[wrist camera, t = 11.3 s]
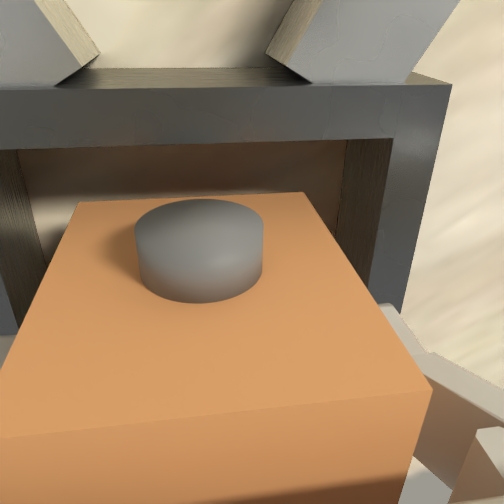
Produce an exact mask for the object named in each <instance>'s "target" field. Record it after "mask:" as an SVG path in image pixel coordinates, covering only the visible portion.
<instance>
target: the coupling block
mask: <svg viewBox="0 0 504 504" xmlns="http://www.w3.org/2000/svg"><path fill="white" fill-rule="evenodd" d="M432 392H433V389H432V387H431V386H430V384H429V383H428V381H427V379H426V378H425V376H424V375H423V373H422V372H421V370H420V369H419V367H418V366H417V364H416V363H415V361H414V360H413V358H412V357H411V355H410V354H409V352H408V350H407V349H406V347H405V346H404V344H403V343H402V341H401V340H400V338H399V337H398V335H397V334H396V332H395V331H394V329H393V328H392V326H391V325H390V323H389V321H388V320H387V318H386V317H385V315H384V314H383V312H382V311H381V309H380V308H379V306H378V305H377V303H376V302H375V300H374V299H373V297H372V296H371V294H370V292H369V291H368V289H367V288H366V286H365V285H364V283H363V282H362V280H361V279H360V277H359V276H358V274H357V273H356V271H355V270H354V268H353V267H352V265H351V263H350V262H349V260H348V259H347V257H346V256H345V254H344V253H343V251H342V250H341V248H340V247H339V245H338V244H337V242H336V241H335V239H334V238H333V236H332V235H331V233H330V231H329V230H328V228H327V227H326V225H325V224H324V222H323V221H322V219H321V218H320V216H319V215H318V213H317V212H316V210H315V209H314V207H313V206H312V204H311V202H310V201H309V199H308V198H307V196H306V195H305V193H304V192H289V193H267V194H245V195H223V196H201V197H179V198H157V199H135V200H113V201H91V202H78V205H77V207H76V209H75V211H74V213H73V215H72V217H71V220H70V222H69V224H68V226H67V228H66V230H65V233H64V235H63V237H62V239H61V241H60V243H59V245H58V248H57V250H56V252H55V254H54V256H53V258H52V260H51V263H50V265H49V267H48V269H47V271H46V273H45V275H44V278H43V280H42V282H41V284H40V286H39V288H38V290H37V293H36V295H35V297H34V299H33V301H32V303H31V306H30V308H29V310H28V312H27V314H26V316H25V318H24V321H23V323H22V325H21V327H20V329H19V331H18V333H17V336H16V338H15V340H14V342H13V344H12V346H11V348H10V351H9V353H8V355H7V357H6V359H5V361H4V364H3V366H2V368H1V370H0V504H398V501H399V498H400V495H401V492H402V488H403V485H404V482H405V479H406V476H407V472H408V469H409V466H410V463H411V460H412V456H413V453H414V450H415V447H416V443H417V440H418V437H419V434H420V431H421V427H422V424H423V421H424V418H425V414H426V411H427V408H428V405H429V402H430V398H431V395H432Z"/></svg>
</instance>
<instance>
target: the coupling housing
mask: <svg viewBox="0 0 504 504" xmlns="http://www.w3.org/2000/svg"><path fill="white" fill-rule="evenodd" d="M459 1H460V0H294V1H293V2H292V4H291V6H290V8H289V10H288V12H287V13H286V15H285V17H284V19H283V21H282V23H281V24H280V26H279V28H278V30H277V32H276V34H275V35H274V37H273V39H272V41H271V43H270V45H269V46H268V48H267V50H266V52H265V53H266V54H268V55H269V56H271V57H272V58H274V59H275V60H277V61H279V62H280V63H282V64H283V65H285V66H286V67H272V68H111V69H80V68H81V67H83V66H84V65H85V64H87V63H88V62H89V61H91V60H92V59H93V58H95V57H96V56H97V55H98V54H100V52H99V50H98V49H97V47H96V46H95V44H94V43H93V41H92V40H91V39H90V37H89V36H88V34H87V33H86V31H85V30H84V28H83V27H82V26H81V24H80V23H79V21H78V20H77V18H76V17H75V15H74V14H73V13H72V11H71V10H70V8H69V7H68V5H67V4H66V2H65V1H64V0H0V336H4V335H17V333H18V331H19V329H20V327H21V325H22V323H23V321H24V318H25V316H26V314H27V312H28V310H29V308H30V306H31V303H32V301H33V299H34V297H35V295H36V293H37V290H38V288H39V286H40V284H41V282H42V280H43V278H44V275H45V273H46V271H47V268H46V264H45V260H44V256H43V253H42V249H41V245H40V241H39V237H38V233H37V229H36V226H35V222H34V218H33V214H32V210H31V206H30V202H29V198H28V195H27V191H26V187H25V183H24V179H23V175H22V171H21V167H20V164H19V160H18V156H17V152H16V149H39V148H72V147H106V146H140V145H174V144H208V143H241V142H275V141H309V140H343V139H347V147H346V155H345V164H344V172H343V180H342V188H341V196H340V204H339V213H338V221H337V229H336V237H335V241H336V242H337V244H338V245H339V247H340V248H341V250H342V251H343V253H344V254H345V256H346V257H347V259H348V260H349V262H350V263H351V265H352V267H353V268H354V270H355V271H356V273H357V274H358V276H359V277H360V279H361V280H362V282H363V283H364V285H365V286H366V288H367V289H368V291H369V292H370V294H371V296H372V297H373V299H374V300H375V302H376V303H377V304H382V303H390V304H392V305H393V306H394V307H395V309H396V310H397V312H398V313H399V314H400V313H401V308H402V304H403V299H404V295H405V291H406V286H407V282H408V277H409V273H410V269H411V264H412V260H413V255H414V251H415V247H416V242H417V238H418V233H419V229H420V225H421V220H422V216H423V211H424V207H425V203H426V198H427V194H428V190H429V185H430V181H431V176H432V172H433V168H434V163H435V159H436V154H437V150H438V146H439V141H440V137H441V132H442V128H443V124H444V119H445V115H446V110H447V106H448V102H449V97H450V93H451V88H452V84H449V83H446V82H443V81H440V80H437V79H434V78H430V77H427V76H424V75H421V74H418V73H415V72H411V71H412V70H413V68H414V67H415V65H416V64H417V63H418V61H419V60H420V58H421V57H422V55H423V54H424V52H425V51H426V49H427V48H428V46H429V45H430V44H431V42H432V41H433V39H434V38H435V36H436V35H437V33H438V32H439V30H440V29H441V27H442V26H443V25H444V23H445V22H446V20H447V19H448V17H449V16H450V14H451V13H452V11H453V10H454V8H455V7H456V6H457V4H458V3H459Z"/></svg>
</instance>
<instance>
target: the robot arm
mask: <svg viewBox="0 0 504 504" xmlns="http://www.w3.org/2000/svg"><path fill="white" fill-rule="evenodd" d="M377 305H378V306H379V308H380V309H381V311H382V312H383V314H384V315H385V317H386V318H387V320H388V321H389V323H390V325H391V326H392V328H393V329H394V331H395V332H396V334H397V335H398V337H399V338H400V340H401V341H402V343H403V344H404V346H405V347H406V349H407V350H408V352H409V354H410V355H411V357H412V358H413V360H414V361H415V363H416V364H417V366H418V367H419V369H420V370H421V372H422V373H423V375H424V376H425V378H426V379H427V381H428V383H429V384H430V386H431V387H432V389H433V392H432V395H431V398H430V402H429V405H428V408H427V411H426V414H425V418H424V421H423V424H422V427H421V431H420V434H419V437H418V440H417V443H416V447H415V450H414V453H413V456H414V457H415V458H416V459H418V460H419V461H420V462H421V463H422V464H423V465H424V466H425V467H427V468H428V469H429V470H430V471H431V472H432V473H433V474H435V475H436V476H437V477H438V478H439V479H440V480H441V481H443V482H444V483H445V484H446V485H447V486H448V487H449V488H450V489H452V490H453V492H452V494H451V496H450V499H449V502H448V504H504V390H503V389H501V388H500V387H498V386H496V385H494V384H492V383H490V382H488V381H487V380H485V379H483V378H481V377H479V376H477V375H475V374H474V373H472V372H470V371H468V370H466V369H464V368H462V367H460V366H459V365H457V364H455V363H453V362H451V361H449V360H447V359H446V358H444V357H442V356H440V355H438V354H436V353H434V352H433V353H427V352H426V350H425V349H424V348H423V346H422V345H421V343H420V342H419V341H418V339H417V338H416V336H415V335H414V334H413V332H412V331H411V330H410V328H409V327H408V325H407V324H406V323H405V321H404V320H403V318H402V317H401V316H400V314H399V313H398V312H397V310H396V309H395V307H394V306H393V305H392V304H390V303H382V304H377ZM16 336H17V335H4V336H0V370H1V368H2V366H3V364H4V361H5V359H6V357H7V355H8V353H9V351H10V348H11V346H12V344H13V342H14V340H15V338H16Z"/></svg>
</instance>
